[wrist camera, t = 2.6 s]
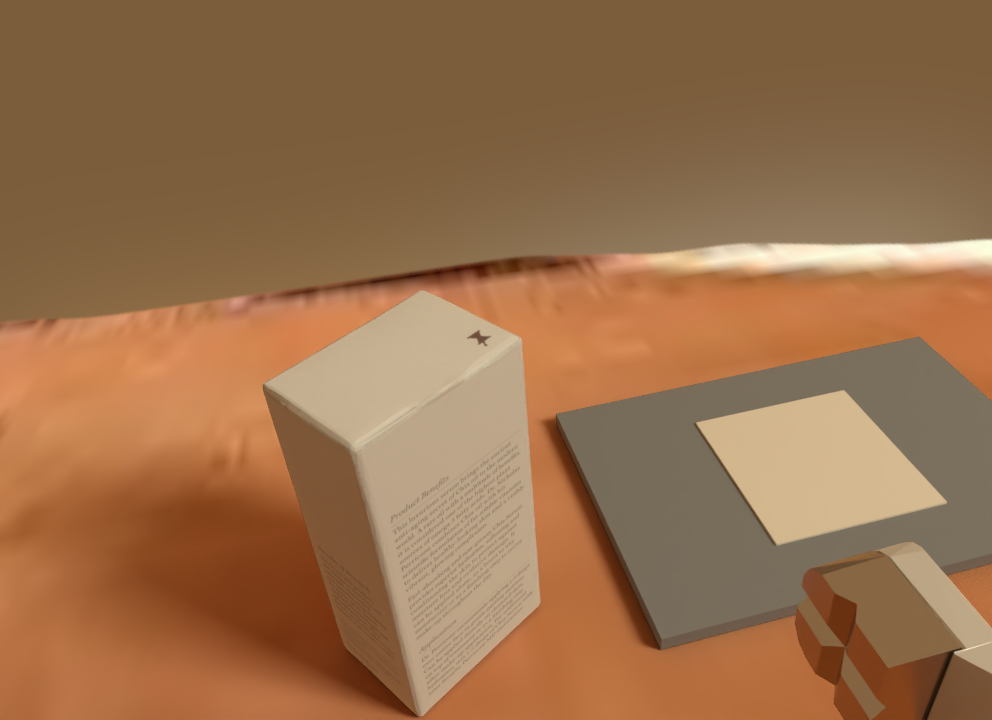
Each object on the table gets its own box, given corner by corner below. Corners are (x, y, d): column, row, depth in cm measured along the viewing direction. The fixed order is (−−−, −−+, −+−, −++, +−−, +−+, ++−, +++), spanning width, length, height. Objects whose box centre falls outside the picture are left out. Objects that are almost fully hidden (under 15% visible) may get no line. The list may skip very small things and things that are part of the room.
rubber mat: (660, 649, 29) (661, 637, 28) (556, 423, 38) (556, 412, 38) (1118, 530, 32) (1125, 517, 31) (916, 346, 41) (919, 335, 41)
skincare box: (460, 546, 33) (425, 283, 26) (543, 607, 31) (530, 335, 23) (335, 649, 30) (254, 380, 23) (416, 726, 27) (355, 453, 20)
